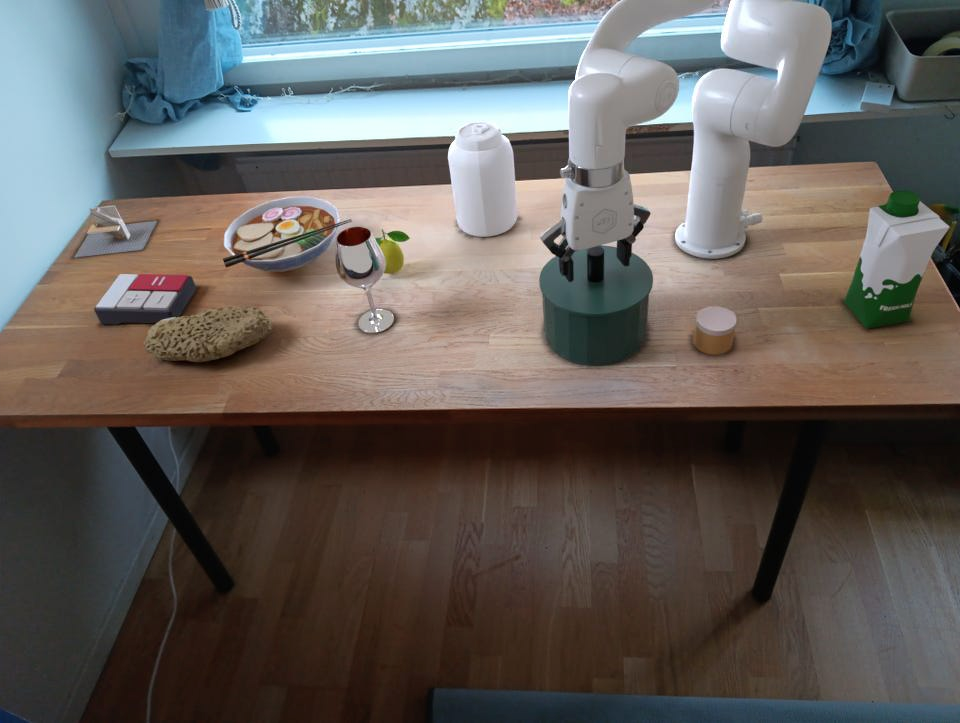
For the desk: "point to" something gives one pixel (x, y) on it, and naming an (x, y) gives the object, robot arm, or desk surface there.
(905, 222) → the milk carton
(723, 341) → the cake
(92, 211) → the architectural model
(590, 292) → the lid
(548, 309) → the pot
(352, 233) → the wineglass
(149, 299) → the calculator
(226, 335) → the sponge
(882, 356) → the desk surface
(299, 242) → the ramen bowl
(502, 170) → the can
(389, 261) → the lemon
